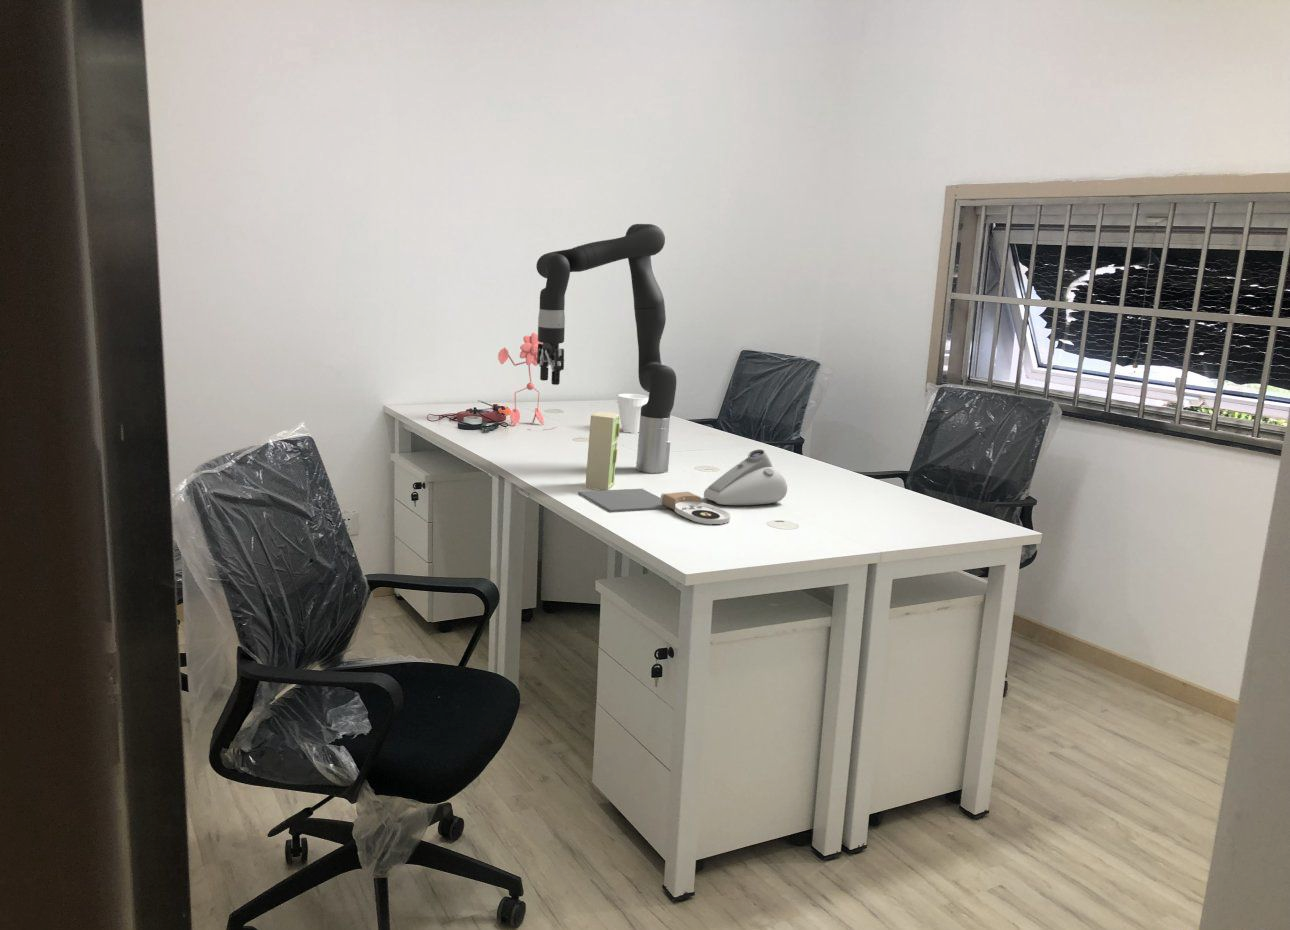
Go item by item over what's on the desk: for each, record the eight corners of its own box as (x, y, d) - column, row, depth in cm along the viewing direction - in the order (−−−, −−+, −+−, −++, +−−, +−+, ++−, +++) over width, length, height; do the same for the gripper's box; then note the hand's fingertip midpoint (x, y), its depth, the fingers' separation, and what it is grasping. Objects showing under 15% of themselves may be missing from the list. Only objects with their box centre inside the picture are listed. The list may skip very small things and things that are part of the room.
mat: (641, 490, 284) (641, 488, 284) (676, 508, 267) (677, 506, 267) (577, 493, 274) (577, 491, 274) (610, 512, 257) (610, 509, 257)
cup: (647, 435, 372) (650, 399, 370) (614, 433, 372) (617, 397, 369) (647, 430, 384) (650, 395, 382) (615, 427, 384) (618, 392, 382)
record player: (691, 490, 272) (740, 511, 257) (689, 501, 273) (738, 523, 258) (657, 493, 265) (705, 515, 250) (656, 504, 266) (704, 527, 251)
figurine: (489, 423, 370) (495, 329, 363) (550, 422, 385) (557, 331, 377) (508, 432, 358) (515, 334, 351) (570, 430, 373) (578, 336, 365)
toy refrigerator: (610, 491, 280) (615, 417, 275) (584, 488, 281) (590, 414, 277) (616, 485, 287) (622, 413, 283) (592, 482, 289) (597, 411, 284)
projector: (707, 488, 295) (712, 439, 292) (785, 496, 292) (790, 447, 289) (701, 505, 273) (706, 453, 270) (785, 514, 271) (791, 462, 268)
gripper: (573, 328, 278) (571, 385, 282) (554, 323, 290) (552, 378, 294) (548, 328, 275) (546, 386, 278) (529, 323, 287) (528, 379, 290)
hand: (549, 382), depth 286 cm, fingers open, 8 cm apart
